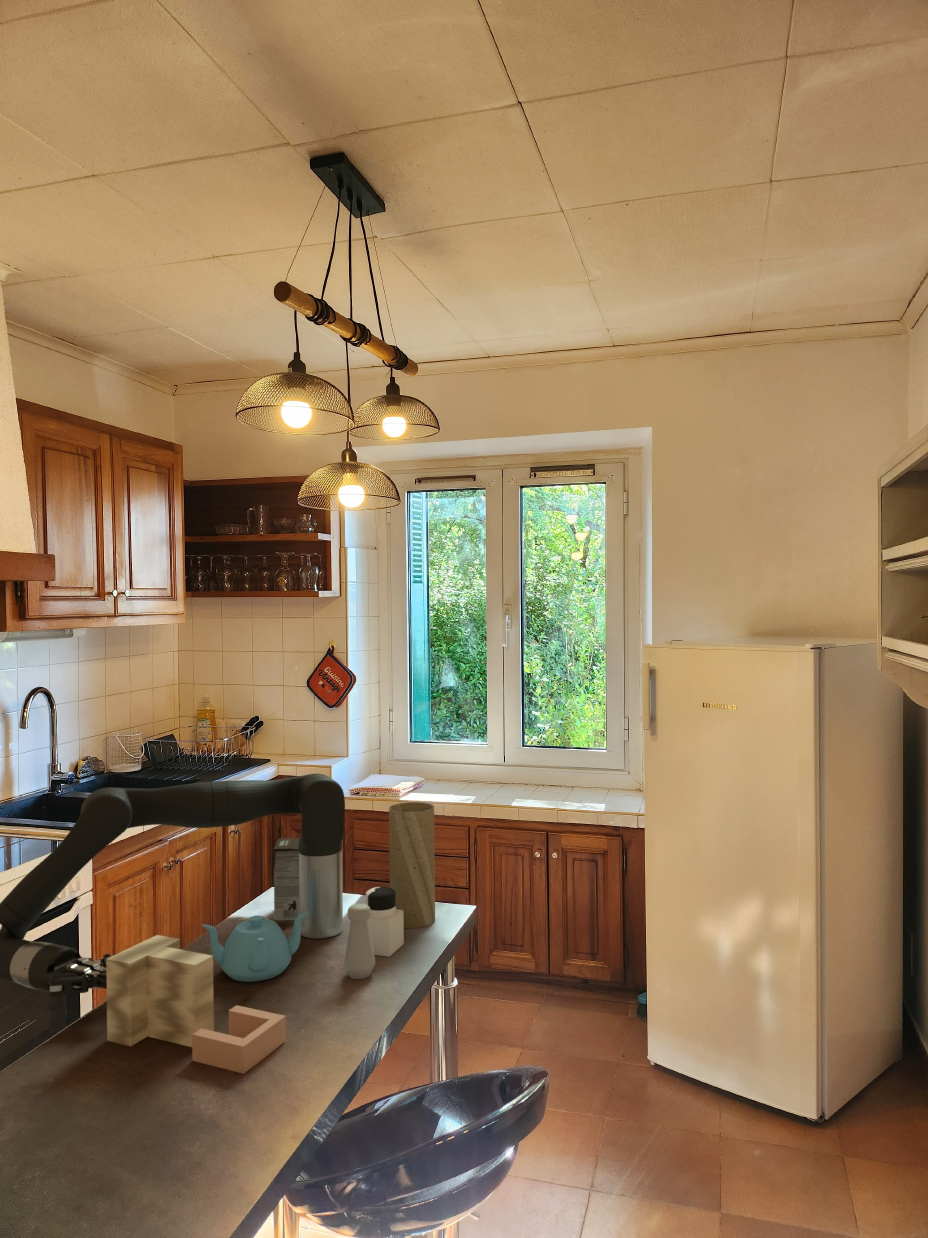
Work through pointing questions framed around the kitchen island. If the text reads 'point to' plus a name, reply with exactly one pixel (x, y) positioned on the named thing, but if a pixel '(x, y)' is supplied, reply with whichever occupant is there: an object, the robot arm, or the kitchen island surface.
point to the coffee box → (286, 879)
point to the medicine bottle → (385, 921)
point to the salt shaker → (359, 943)
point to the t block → (159, 993)
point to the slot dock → (240, 1040)
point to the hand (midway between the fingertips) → (119, 982)
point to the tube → (413, 861)
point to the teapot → (255, 949)
